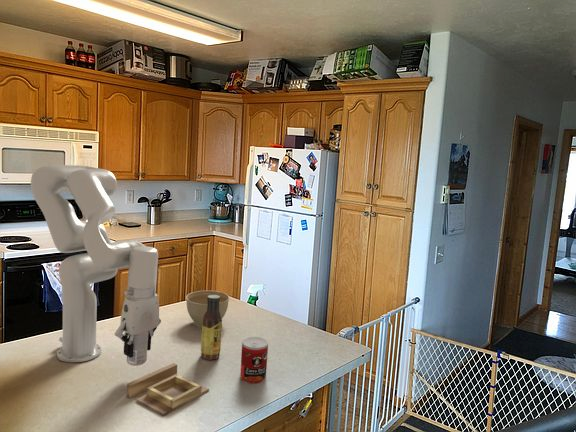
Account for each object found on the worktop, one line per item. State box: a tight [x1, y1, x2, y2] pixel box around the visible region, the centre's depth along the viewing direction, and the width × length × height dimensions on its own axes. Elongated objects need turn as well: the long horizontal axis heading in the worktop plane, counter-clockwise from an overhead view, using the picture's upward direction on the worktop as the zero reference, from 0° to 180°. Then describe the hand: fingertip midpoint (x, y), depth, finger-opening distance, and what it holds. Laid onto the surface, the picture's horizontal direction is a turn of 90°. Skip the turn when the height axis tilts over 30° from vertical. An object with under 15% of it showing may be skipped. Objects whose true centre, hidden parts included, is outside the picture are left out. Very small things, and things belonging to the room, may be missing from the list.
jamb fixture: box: [126, 362, 210, 417], centre depth 121 cm, size 14×16×4 cm
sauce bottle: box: [200, 295, 223, 361], centre depth 144 cm, size 6×6×20 cm
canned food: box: [240, 336, 269, 385], centre depth 133 cm, size 8×8×11 cm
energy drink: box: [126, 331, 149, 366], centre depth 127 cm, size 5×5×12 cm
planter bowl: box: [185, 290, 230, 329], centre depth 171 cm, size 16×16×11 cm
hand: (137, 351), depth 128 cm, fingers closed on energy drink, 5 cm apart
